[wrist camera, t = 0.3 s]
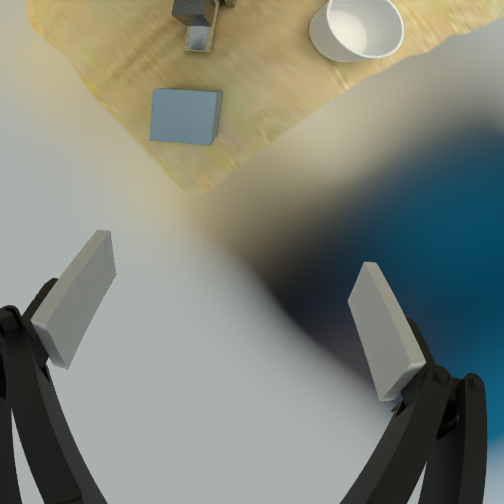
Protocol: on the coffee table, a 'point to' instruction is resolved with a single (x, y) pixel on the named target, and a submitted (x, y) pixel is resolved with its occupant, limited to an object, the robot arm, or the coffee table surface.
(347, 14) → the cup
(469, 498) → the robot arm
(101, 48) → the coffee table surface
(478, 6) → the coffee table surface
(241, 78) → the coffee table surface
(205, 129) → the socket
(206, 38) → the grey piece
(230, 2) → the grey metal block
